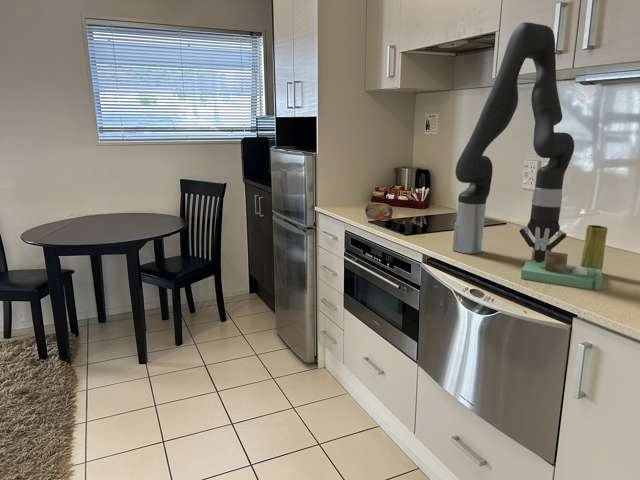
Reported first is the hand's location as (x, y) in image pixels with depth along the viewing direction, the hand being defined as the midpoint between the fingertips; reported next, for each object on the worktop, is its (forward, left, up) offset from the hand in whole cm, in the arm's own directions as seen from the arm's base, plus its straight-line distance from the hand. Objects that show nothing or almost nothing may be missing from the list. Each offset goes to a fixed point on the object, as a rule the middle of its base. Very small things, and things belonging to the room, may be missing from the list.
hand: (538, 262), depth 139 cm
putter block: (+5, 0, -1) cm, 5 cm away
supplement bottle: (0, +12, -4) cm, 13 cm away
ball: (+11, 0, -2) cm, 11 cm away
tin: (-73, +55, -4) cm, 92 cm away
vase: (+14, +11, -4) cm, 18 cm away
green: (+6, 0, -4) cm, 7 cm away
